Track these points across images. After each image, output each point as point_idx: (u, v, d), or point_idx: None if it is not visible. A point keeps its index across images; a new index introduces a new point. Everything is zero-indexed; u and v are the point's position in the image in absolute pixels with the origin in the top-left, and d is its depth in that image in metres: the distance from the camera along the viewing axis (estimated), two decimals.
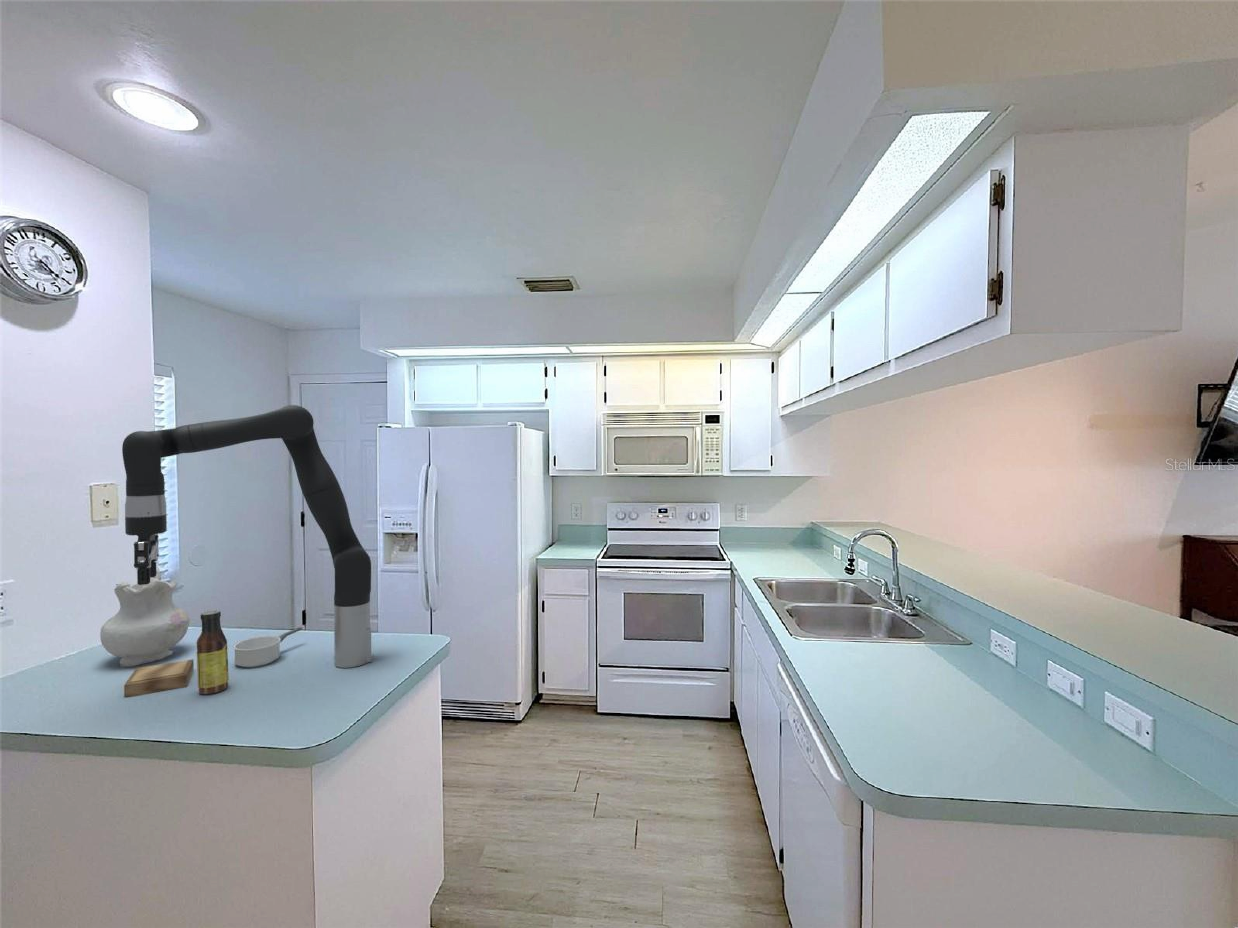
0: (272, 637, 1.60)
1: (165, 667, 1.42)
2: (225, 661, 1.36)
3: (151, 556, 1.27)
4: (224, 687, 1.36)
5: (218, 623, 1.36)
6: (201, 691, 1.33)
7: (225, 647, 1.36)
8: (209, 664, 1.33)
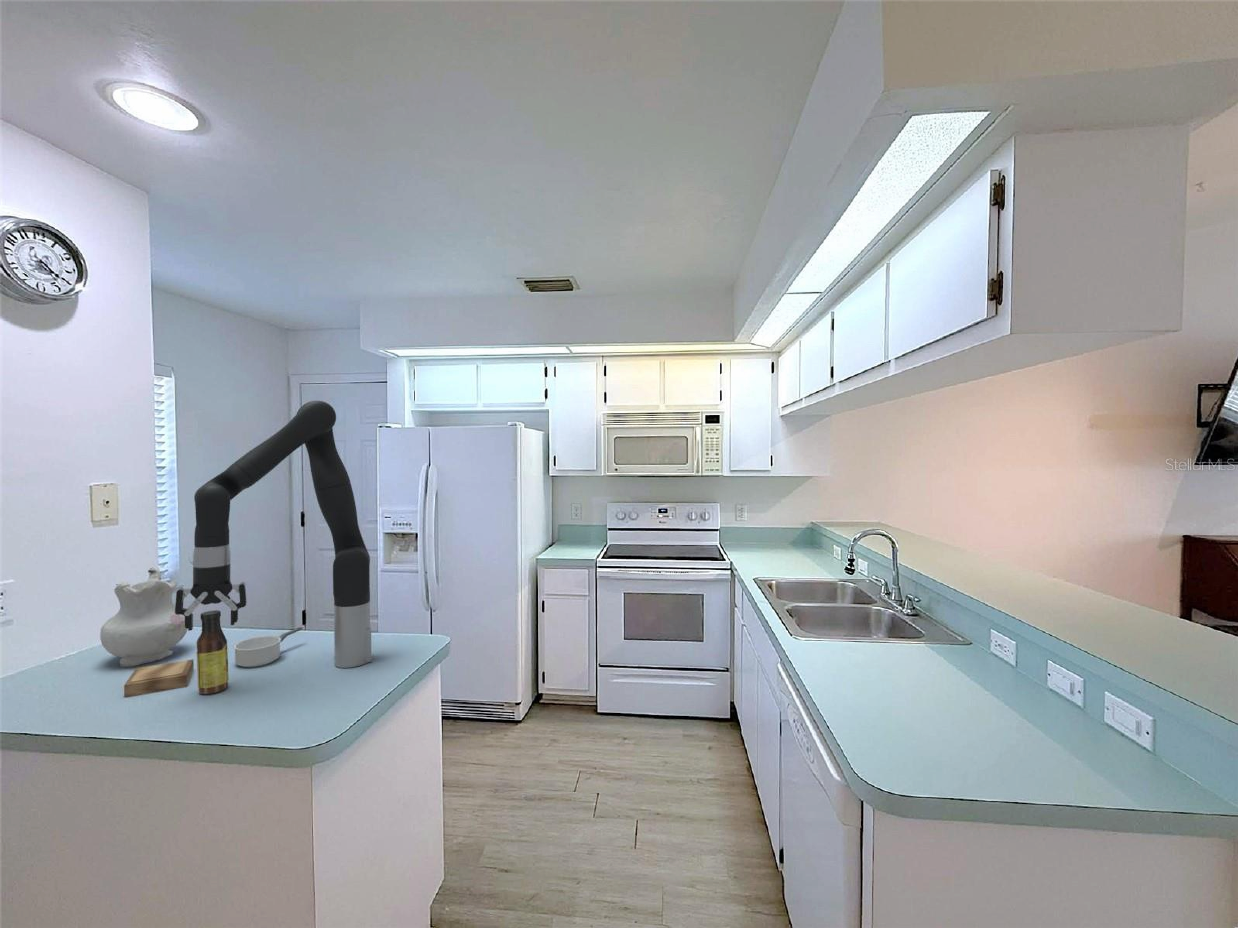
0: (272, 637, 1.60)
1: (165, 667, 1.42)
2: (225, 661, 1.36)
3: (231, 598, 1.39)
4: (224, 687, 1.36)
5: (218, 623, 1.36)
6: (201, 691, 1.33)
7: (225, 647, 1.36)
8: (210, 664, 1.33)
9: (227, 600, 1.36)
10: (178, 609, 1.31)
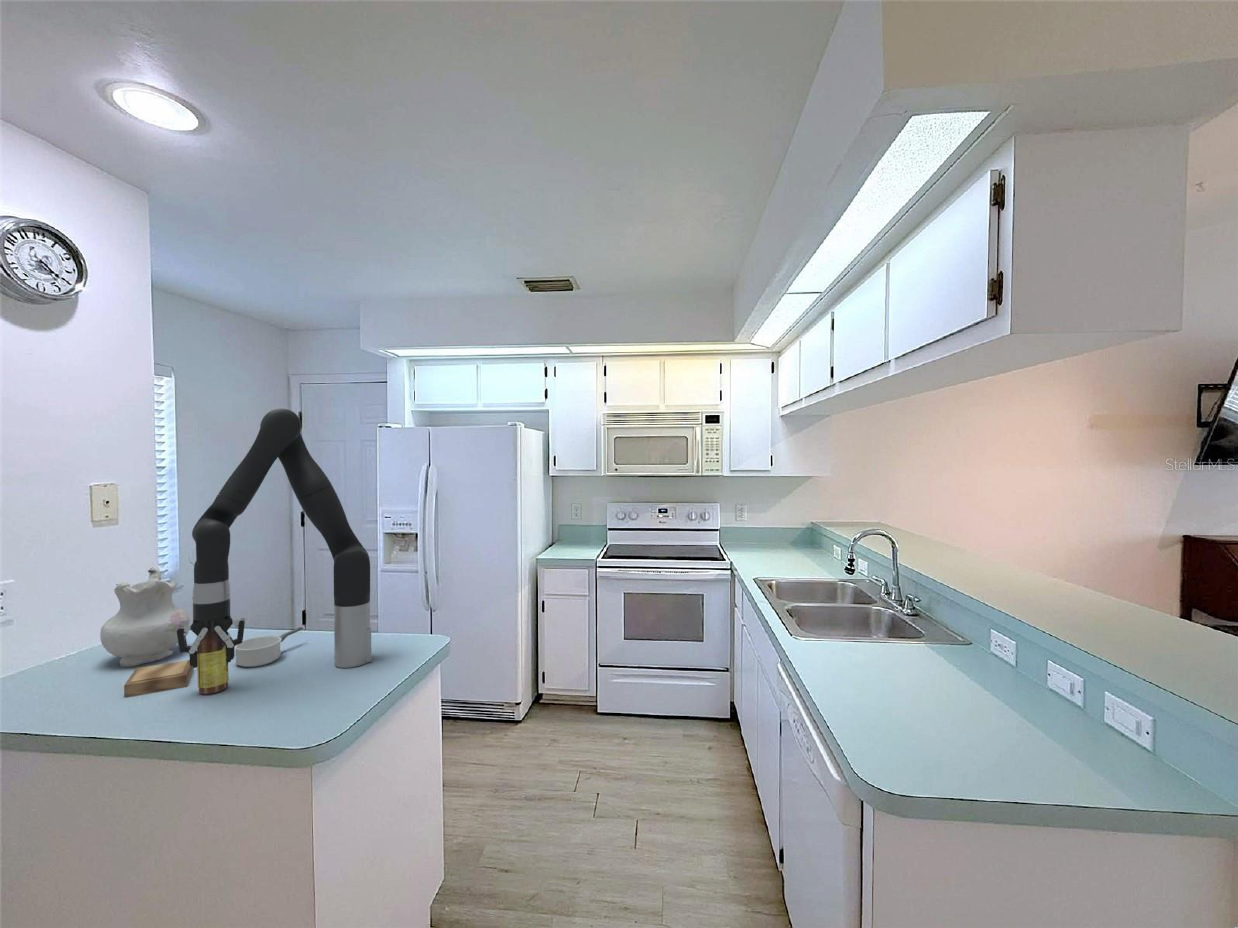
0: (273, 637, 1.60)
1: (165, 667, 1.42)
2: (225, 661, 1.36)
3: (229, 634, 1.39)
4: (224, 687, 1.36)
5: None
6: (201, 691, 1.33)
7: (225, 647, 1.36)
8: (210, 664, 1.33)
9: (225, 636, 1.36)
10: (182, 647, 1.32)
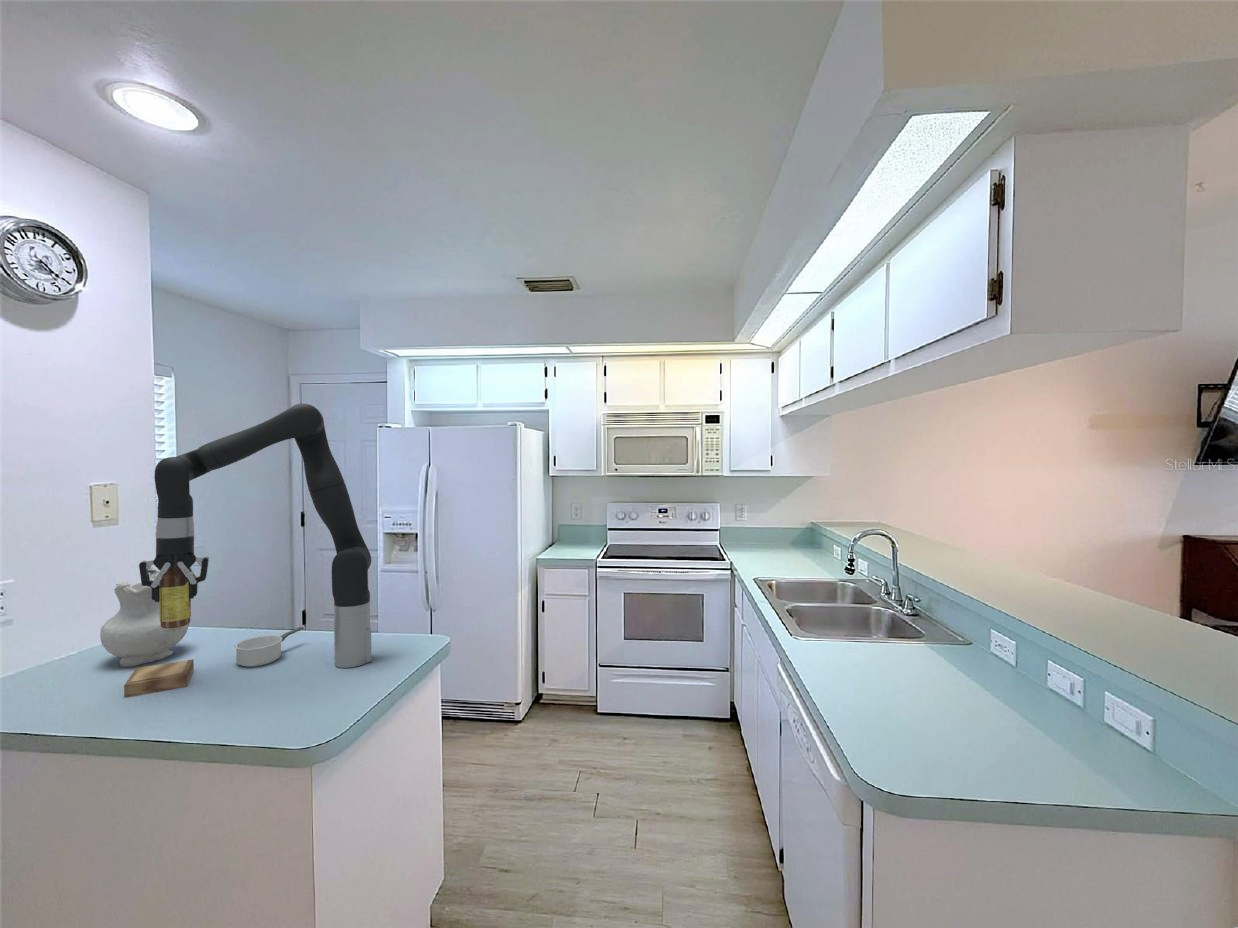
0: (273, 636, 1.60)
1: (165, 667, 1.42)
2: (188, 597, 1.38)
3: (192, 572, 1.41)
4: (186, 622, 1.38)
5: None
6: (162, 625, 1.35)
7: (188, 583, 1.38)
8: (172, 598, 1.35)
9: (188, 573, 1.38)
10: (144, 581, 1.33)
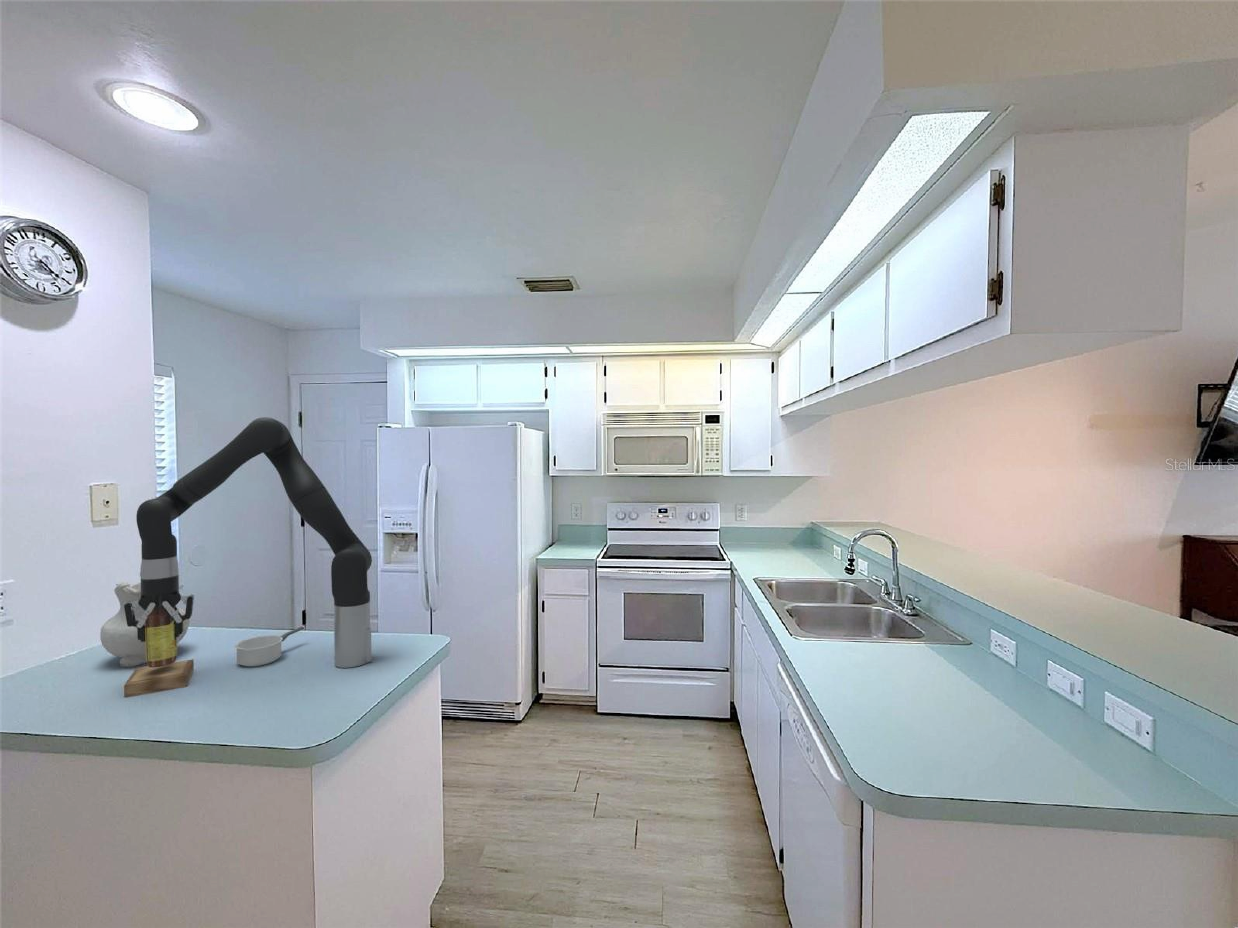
0: (274, 636, 1.60)
1: (165, 667, 1.42)
2: (173, 636, 1.40)
3: (178, 610, 1.43)
4: (172, 661, 1.40)
5: None
6: (149, 664, 1.37)
7: (173, 622, 1.40)
8: (157, 637, 1.37)
9: (173, 612, 1.40)
10: (130, 621, 1.36)
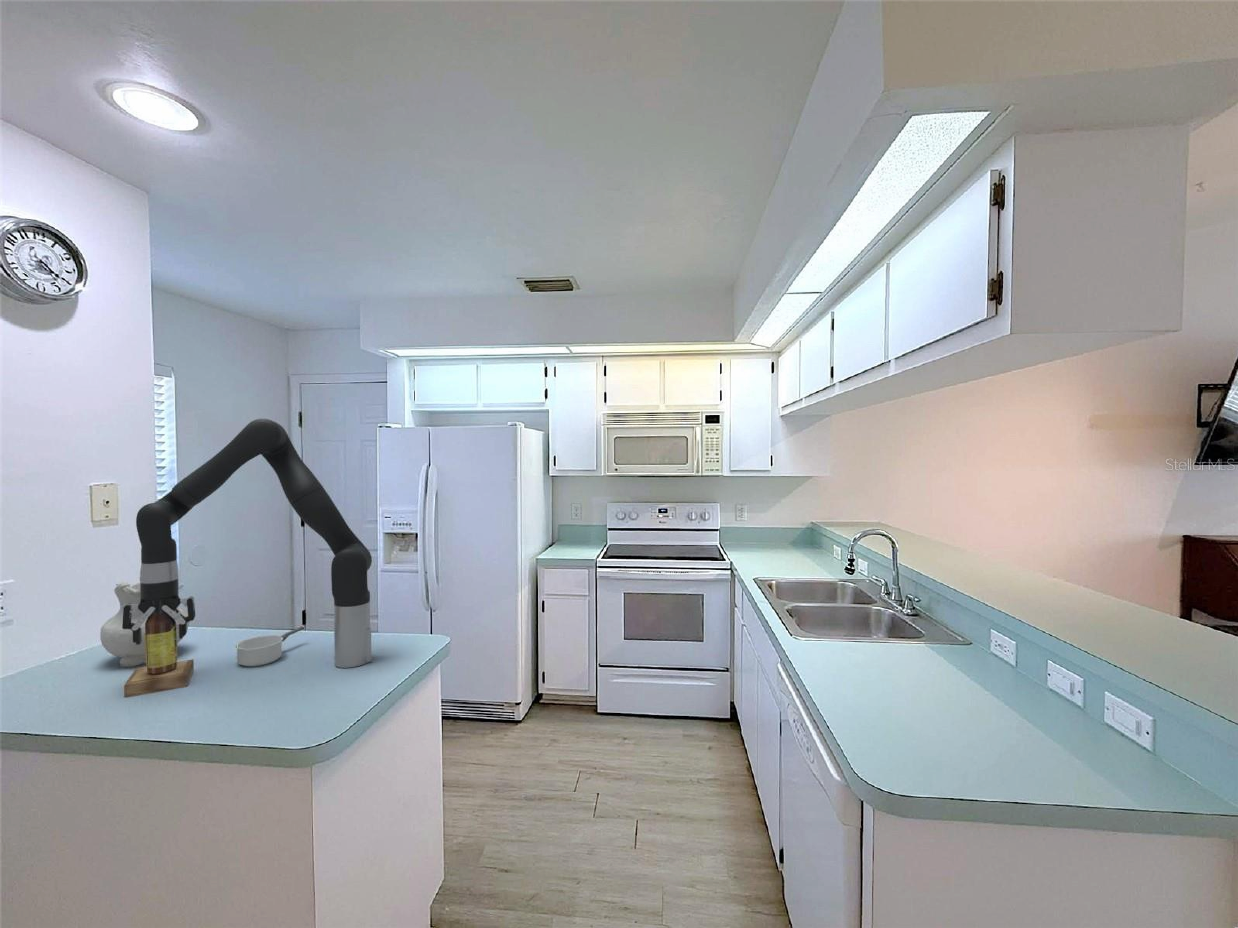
0: (274, 636, 1.60)
1: None
2: (173, 642, 1.40)
3: (180, 612, 1.43)
4: (172, 667, 1.40)
5: None
6: (149, 671, 1.37)
7: (173, 629, 1.40)
8: (157, 644, 1.37)
9: (175, 614, 1.40)
10: (125, 624, 1.35)
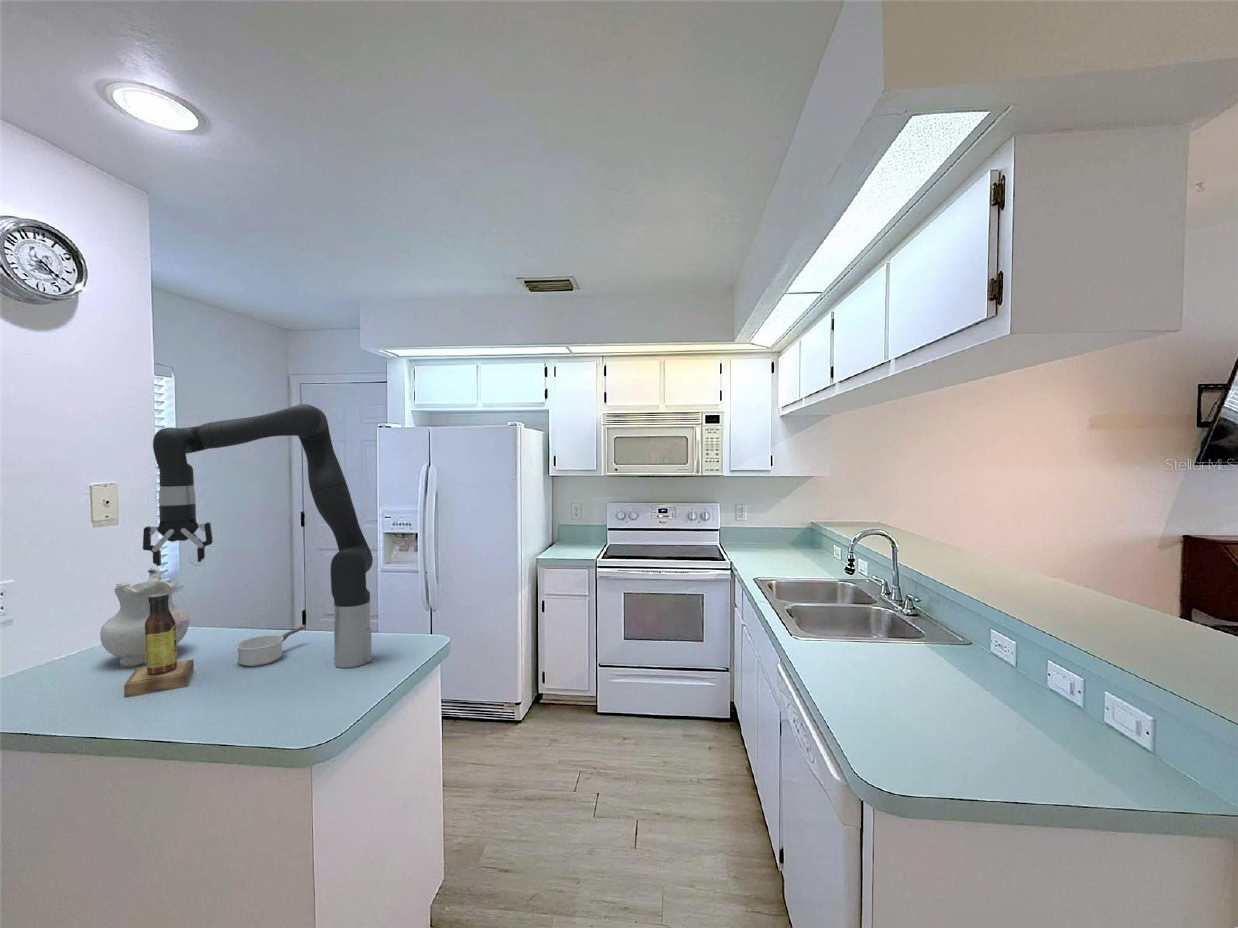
0: (275, 636, 1.60)
1: None
2: (173, 642, 1.40)
3: (197, 537, 1.47)
4: (172, 667, 1.40)
5: (166, 605, 1.40)
6: (149, 671, 1.37)
7: (173, 628, 1.40)
8: (157, 644, 1.37)
9: (193, 537, 1.44)
10: (146, 545, 1.39)
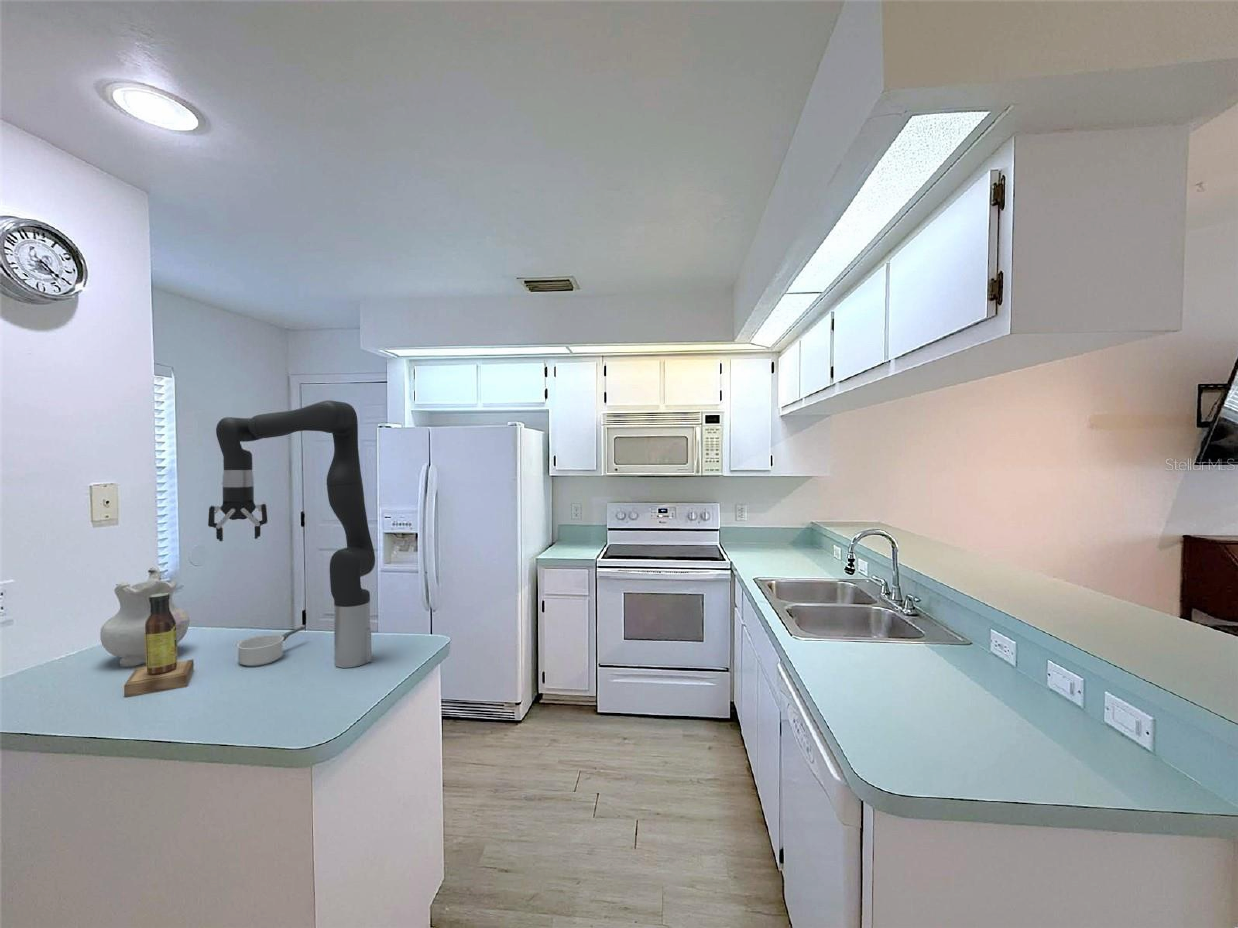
0: (275, 636, 1.60)
1: None
2: (173, 642, 1.40)
3: (254, 517, 1.62)
4: (172, 667, 1.40)
5: (167, 605, 1.40)
6: (149, 671, 1.37)
7: (173, 629, 1.40)
8: (157, 644, 1.37)
9: (251, 517, 1.60)
10: (211, 522, 1.55)
